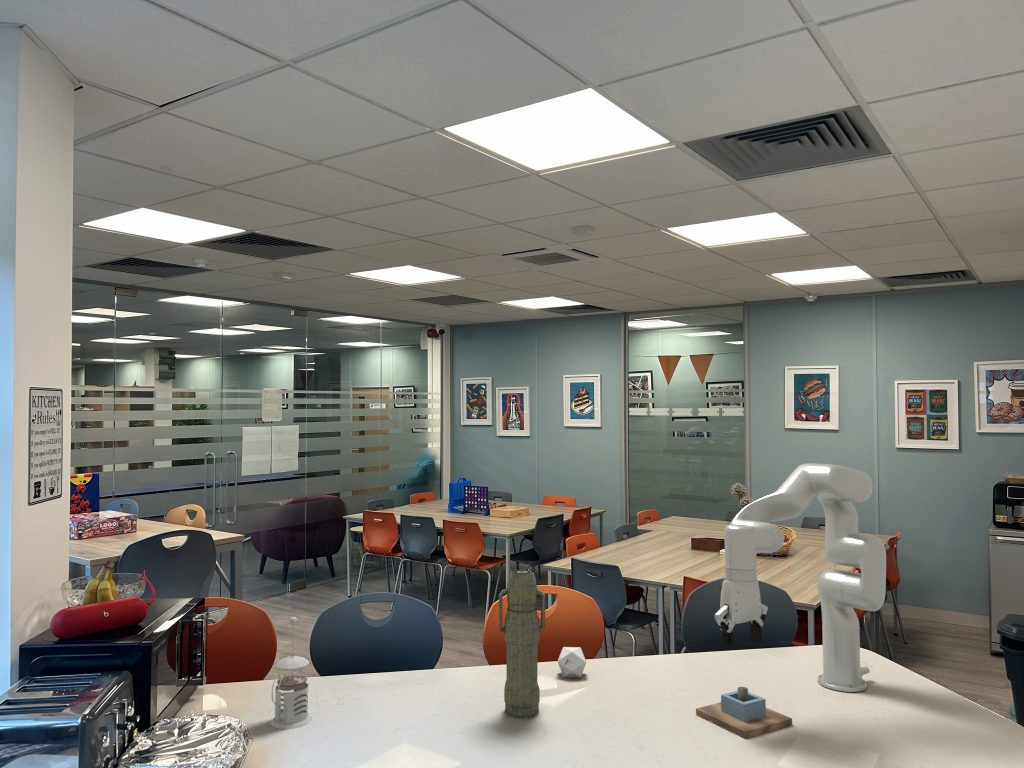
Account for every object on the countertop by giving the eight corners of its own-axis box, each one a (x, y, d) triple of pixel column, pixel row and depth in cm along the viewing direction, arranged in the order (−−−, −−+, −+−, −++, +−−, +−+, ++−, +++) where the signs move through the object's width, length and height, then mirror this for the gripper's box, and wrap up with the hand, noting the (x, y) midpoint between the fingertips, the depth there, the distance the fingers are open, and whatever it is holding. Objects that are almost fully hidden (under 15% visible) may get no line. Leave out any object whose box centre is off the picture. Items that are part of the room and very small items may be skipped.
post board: (741, 702, 190) (741, 673, 190) (792, 724, 176) (791, 693, 176) (695, 714, 182) (695, 684, 182) (745, 738, 168) (744, 705, 168)
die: (552, 675, 213) (551, 654, 208) (569, 654, 218) (569, 634, 213) (574, 690, 208) (574, 670, 203) (591, 669, 214) (592, 649, 208)
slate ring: (742, 705, 184) (742, 689, 184) (765, 715, 178) (765, 699, 178) (721, 711, 180) (721, 694, 181) (744, 721, 174) (743, 704, 174)
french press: (320, 715, 181) (321, 613, 182) (291, 734, 170) (293, 625, 171) (286, 710, 184) (288, 610, 186) (256, 728, 173) (258, 622, 175)
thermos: (548, 716, 180) (548, 574, 182) (501, 719, 179) (502, 575, 181) (541, 703, 189) (541, 567, 191) (496, 706, 187) (497, 568, 189)
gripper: (753, 568, 189) (755, 635, 188) (704, 575, 180) (705, 646, 179) (777, 573, 182) (778, 643, 181) (727, 581, 174) (728, 654, 173)
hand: (742, 644), depth 180 cm, fingers open, 9 cm apart
